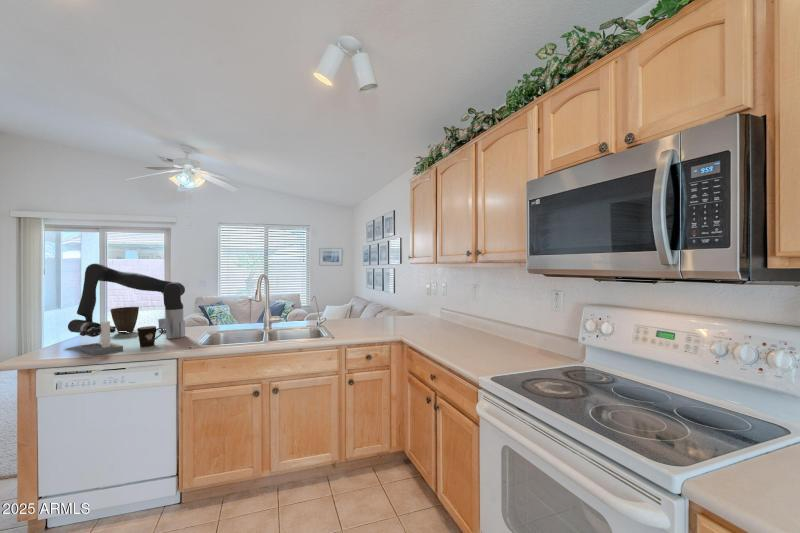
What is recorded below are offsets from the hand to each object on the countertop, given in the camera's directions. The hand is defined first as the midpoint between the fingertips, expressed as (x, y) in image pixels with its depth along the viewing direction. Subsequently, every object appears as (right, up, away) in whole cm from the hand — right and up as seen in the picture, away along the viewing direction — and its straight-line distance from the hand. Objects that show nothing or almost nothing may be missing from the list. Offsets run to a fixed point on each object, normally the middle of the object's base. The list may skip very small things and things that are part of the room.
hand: (103, 332), depth 190 cm
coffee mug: (+16, -10, +13) cm, 23 cm away
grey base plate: (-2, -10, +2) cm, 10 cm away
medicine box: (-2, -9, +54) cm, 55 cm away
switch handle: (+3, -7, -2) cm, 8 cm away
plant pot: (-25, -9, +49) cm, 56 cm away
